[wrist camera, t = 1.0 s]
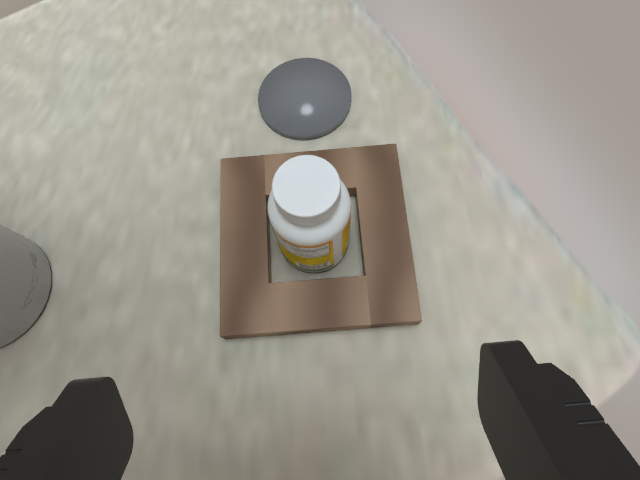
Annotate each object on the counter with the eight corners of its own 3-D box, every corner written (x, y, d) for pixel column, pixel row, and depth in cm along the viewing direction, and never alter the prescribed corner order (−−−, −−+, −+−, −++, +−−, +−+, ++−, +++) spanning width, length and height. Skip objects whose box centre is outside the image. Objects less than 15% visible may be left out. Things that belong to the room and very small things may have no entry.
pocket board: (225, 338, 33) (220, 336, 31) (225, 167, 37) (220, 158, 36) (418, 324, 32) (421, 320, 31) (394, 153, 37) (396, 143, 36)
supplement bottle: (311, 288, 34) (299, 248, 25) (266, 238, 35) (239, 183, 26) (364, 242, 35) (371, 187, 26) (318, 195, 36) (310, 128, 27)
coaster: (260, 143, 38) (259, 140, 37) (258, 66, 41) (257, 62, 40) (355, 135, 38) (355, 131, 37) (346, 58, 40) (346, 54, 40)
